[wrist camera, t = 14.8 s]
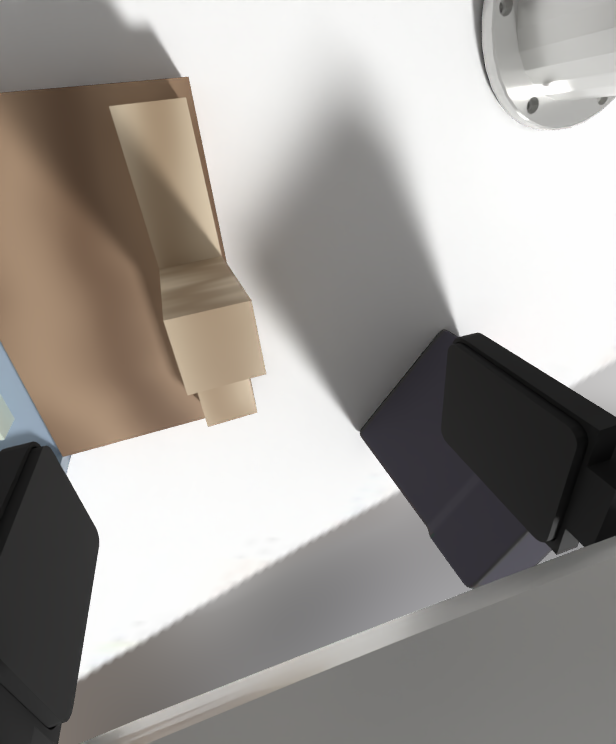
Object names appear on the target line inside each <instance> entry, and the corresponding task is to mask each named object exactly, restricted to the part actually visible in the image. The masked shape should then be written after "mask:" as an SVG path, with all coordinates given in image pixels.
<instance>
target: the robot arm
mask: <svg viewBox="0 0 616 744" xmlns="http://www.w3.org/2000/svg"><path fill="white" fill-rule="evenodd" d="M482 47H483V54H484V61H485V67H486V71H487V74H488V78H489V81H490V84H491V87H492V90H493V92H494V93H495V95H496V97H497V99H498V101H499V103H500V105H501V106H502V107H503V108H504V109H505V111H506V112H507V113H508V114H509V115H510V116H511V117H512V118H513V119H514V120H516V121H517V122H519V123H521V124H522V125H524V126H526V127H529V128H533V129H536V130H559V129H566V128H571V127H573V126H576V125H578V124H581V123H583V122H585V121H587V120H589V119H590V118H592V117H593V116H595V115H596V114H598V113H599V112H601V111H602V110H603V109H604V108H605V107H606V106H607V105H608V104H609V103H610V102H612V101H613V100H614V99H615V98H616V0H484V4H483V13H482ZM441 432H442V436H443V438H444V440H445V441H446V442H447V444H448V445H449V446H450V447H451V448H452V449H453V450H454V451H455V452H456V453H457V454H458V455H459V457H460V458H461V459H462V460H463V461H464V462H465V463H466V464H467V465H468V466H469V467H470V469H471V470H472V471H473V472H474V473H475V474H476V475H477V476H478V477H479V478H480V479H481V480H482V482H483V483H484V484H485V485H486V486H487V487H488V488H489V489H490V490H491V491H492V492H493V493H494V495H495V496H496V497H497V498H498V499H499V500H500V501H501V502H502V503H503V504H504V505H505V506H506V508H507V509H508V510H509V511H510V512H511V513H512V514H513V515H514V516H515V517H516V518H517V519H518V521H519V522H520V523H521V524H522V525H523V526H524V527H525V528H526V529H527V530H528V531H529V532H530V534H531V535H532V536H533V537H534V538H535V539H537V540H538V541H540V542H543V543H544V542H545V543H546V544H547V545H548V546H549V547H550V548H551V549H552V550H553V551H554V552H555V554H556V555H557V554H560V553H563V552H565V551H568V550H570V549H573V548H576V547H577V546H578V543H579V542H580V543H581V544H582V545H583V546H584V547H583V548H580V549H578V550H575V551H572V552H570V553H567V554H565V555H562V556H559V557H557V558H554V559H551V560H549V561H546V562H543V563H541V564H538V565H536V566H533V567H530V568H528V569H525V570H522V571H520V572H517V573H514V574H512V575H509V576H507V577H504V578H501V579H499V580H496V581H493V582H491V583H488V584H485V585H483V586H480V587H478V588H475V589H472V590H470V591H467V592H464V593H462V594H459V595H457V596H454V597H452V598H449V599H446V600H444V601H441V602H438V603H436V604H433V605H431V606H428V607H426V608H423V609H420V610H418V611H415V612H413V613H410V614H408V615H405V616H402V617H399V618H397V619H394V620H392V621H389V622H387V623H384V624H382V625H379V626H376V627H374V628H371V629H368V630H366V631H363V632H361V633H358V634H355V635H353V636H350V637H348V638H345V639H343V640H340V641H337V642H335V643H332V644H330V645H327V646H325V647H322V648H320V649H317V650H314V651H312V652H309V653H306V654H304V655H301V656H299V657H296V658H294V659H291V660H288V661H286V662H284V663H281V664H278V665H276V666H273V667H271V668H268V669H266V670H263V671H260V672H258V673H255V674H253V675H250V676H248V677H245V678H243V679H240V680H237V681H235V682H232V683H230V684H227V685H225V686H222V687H220V688H217V689H214V690H212V691H209V692H207V693H204V694H202V695H199V696H197V697H194V698H191V699H189V700H186V701H184V702H181V703H179V704H176V705H174V706H171V707H169V708H166V709H163V710H161V711H158V712H156V713H153V714H151V715H148V716H146V717H143V718H140V719H138V720H136V721H133V722H131V723H128V724H126V725H123V726H121V727H119V728H116V729H114V730H111V731H109V732H107V733H104V734H102V735H99V736H97V737H94V738H92V739H89V740H87V741H85V742H82V743H80V744H616V417H615V416H613V415H612V414H610V413H608V412H607V411H605V410H604V409H602V408H600V407H599V406H597V405H596V404H594V403H592V402H591V401H589V400H587V399H586V398H584V397H583V396H581V395H579V394H578V393H576V392H575V391H573V390H571V389H570V388H568V387H567V386H565V385H563V384H562V383H560V382H559V381H557V380H555V379H554V378H552V377H550V376H549V375H547V374H546V373H544V372H542V371H541V370H539V369H538V368H536V367H534V366H533V365H531V364H530V363H528V362H526V361H525V360H523V359H521V358H520V357H518V356H517V355H515V354H513V353H512V352H510V351H509V350H507V349H505V348H504V347H502V346H500V345H499V344H497V343H496V342H494V341H492V340H491V339H489V338H488V337H486V336H484V335H483V334H481V333H474V334H470V335H466V336H462V337H457V338H456V339H455V340H454V341H453V344H452V345H450V346H449V348H448V353H447V365H446V376H445V388H444V399H443V410H442V422H441ZM98 549H99V536H98V532H97V529H96V527H95V526H94V524H93V522H92V520H91V518H90V517H89V515H88V513H87V511H86V509H85V508H84V506H83V504H82V502H81V500H80V499H79V497H78V495H77V493H76V492H75V490H74V488H73V486H72V484H71V483H70V481H69V479H68V477H67V475H66V474H65V472H64V470H63V468H62V467H61V465H60V463H59V461H58V459H57V458H56V456H55V454H54V452H53V451H52V449H51V448H50V447H49V446H42V447H41V445H40V444H39V443H37V442H34V441H33V442H29V443H25V444H21V445H16V446H12V447H8V448H5V449H2V450H1V451H0V744H58V741H59V735H60V730H61V724H62V723H64V722H67V721H68V719H69V718H70V716H71V713H72V709H73V704H74V698H75V692H76V685H77V679H78V673H79V667H80V661H81V655H82V648H83V642H84V636H85V630H86V624H87V617H88V611H89V605H90V599H91V592H92V586H93V580H94V574H95V568H96V561H97V555H98Z"/></svg>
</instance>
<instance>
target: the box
mask: <svg viewBox="0 0 616 744" xmlns="http://www.w3.org/2000/svg"><path fill="white" fill-rule="evenodd" d="M0 394H1V396H2V398H3V399H4V401H5V403H6V405H7V406H8V408H9V410H10V411H11V413H12V415H13V417H14V418H15V419H14V421H13V423H12V425H11V427H10V429H9V431H8V433H7V435H6V437H5V439H4V440H0V451H1V450H2V449H5V448H8V447H12V446H16V445H21V444H25V443H29V442H33V441H34V442H37V443H39V444H40V445H41V447H42V446H49V447H50V448H51V449H52V451H53V452H54V454H55V456H56V458H57V459H58V461H59V463H60V465H61V467H62V468H63V470H64V472H65V474H66V473H67V469H68V465H69V461H70V457H71V455H68V456H65V457H63V456H62V455H61V453H60V451H59V449H58V447H57V445H56V443H55V442H54V440H53V438H52V436H51V434H50V432H49V430H48V429H47V427H46V425H45V423H44V421H43V419H42V417H41V416H40V414H39V412H38V410H37V408H36V406H35V404H34V403H33V401H32V399H31V397H30V395H29V393H28V391H27V389H26V388H25V386H24V384H23V382H22V380H21V378H20V376H19V375H18V373H17V371H16V369H15V367H14V365H13V363H12V362H11V360H10V358H9V356H8V354H7V352H6V350H5V349H4V347H3V345H2V343H1V341H0Z"/></svg>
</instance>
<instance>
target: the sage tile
mask: <svg viewBox="0 0 616 744" xmlns="http://www.w3.org/2000/svg"><path fill="white" fill-rule="evenodd" d="M14 419H15V418H14V417H13V415H12V413H11V411H10V410H9V408H8V406H7V405H6V403H5V401H4V399H3V398H2V396H1V394H0V440H4V439H5V437H6V435H7V433H8V431H9V429H10V427H11V425H12V423H13V421H14Z"/></svg>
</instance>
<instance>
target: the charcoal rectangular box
mask: <svg viewBox="0 0 616 744" xmlns="http://www.w3.org/2000/svg"><path fill="white" fill-rule="evenodd" d="M456 338H457V336H455V335H454V334H452V333H451V332H449V331H447V330H442V331H441V332H440V333H439V334H438V335H437V336H436V337H435V339H434V340H433V341H432V342H431V344H430V345H429V346H428V347H427V348H426V350H425V351H424V352H423V353H422V355H421V356H420V357H419V358H418V360H417V361H416V362H415V363H414V365H413V366H412V367H411V368H410V370H409V371H408V372H407V373H406V375H405V376H404V377H403V378H402V380H401V381H400V382H399V383H398V384H397V386H396V387H395V388H394V389H393V391H392V392H391V393H390V394H389V396H388V397H387V398H386V399H385V401H384V402H383V403H382V404H381V406H380V407H379V408H378V409H377V411H376V412H375V413H374V414H373V416H372V417H371V418H370V419H369V420H368V422H367V423H366V424H365V425H364V427H363V428H362V429H361V431H360V436H361V437H362V439H363V440H364V441H365V443H366V444H367V446H368V447H369V448H370V450H371V451H372V452H373V454H374V455H375V457H376V458H377V459H378V461H379V462H380V463H381V465H382V466H383V467H384V469H385V470H386V472H387V473H388V474H389V476H390V477H391V478H392V480H393V481H394V482H395V484H396V485H397V487H398V488H399V489H400V491H401V492H402V493H403V495H404V496H405V498H406V499H407V500H408V502H409V503H410V504H411V506H412V507H413V508H414V510H415V511H416V513H417V514H418V515H419V517H420V518H421V519H422V521H423V522H424V524H425V525H426V526H427V528H428V531H429V535H430V537H431V539H432V540H433V542H434V543H435V544H436V546H437V547H438V549H439V550H440V551H441V553H442V554H443V555H444V557H445V558H446V560H447V561H448V562H449V564H450V565H451V567H452V568H453V569H454V571H455V572H456V574H457V575H458V576H459V578H460V579H461V580H462V582H463V583H464V584H465V585H466V586H467V587H469V588H472V589H475V588H478V587H480V586H483V585H485V584H488V583H491V582H493V581H496V580H499V579H501V578H504V577H507V576H509V575H512V574H514V573H517V572H520V571H522V570H525V569H528V568H530V567H533V566H536V565H537V564H538V563H539V562H540V561H541V560H542V559H543V558H544V557H545V556H546V555H547V554H548V553H549V552H550V551H551V550H552V549H551V548H550V547H549V546H548V545H547V544H546V543H545V542H544V543H543V542H540V541H538V540H537V539H535V538H534V537H533V536H532V535H531V534H530V532H529V531H528V530H527V529H526V528H525V527H524V526H523V525H522V524H521V523H520V522H519V521H518V519H517V518H516V517H515V516H514V515H513V514H512V513H511V512H510V511H509V510H508V509H507V508H506V506H505V505H504V504H503V503H502V502H501V501H500V500H499V499H498V498H497V497H496V496H495V495H494V493H493V492H492V491H491V490H490V489H489V488H488V487H487V486H486V485H485V484H484V483H483V482H482V480H481V479H480V478H479V477H478V476H477V475H476V474H475V473H474V472H473V471H472V470H471V469H470V467H469V466H468V465H467V464H466V463H465V462H464V461H463V460H462V459H461V458H460V457H459V455H458V454H457V453H456V452H455V451H454V450H453V449H452V448H451V447H450V446H449V445H448V444H447V442H446V441H445V440H444V438H443V436H442V432H441V422H442V410H443V399H444V388H445V376H446V365H447V353H448V348H449V346H450V345H452V344H453V341H454V340H455V339H456Z"/></svg>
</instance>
